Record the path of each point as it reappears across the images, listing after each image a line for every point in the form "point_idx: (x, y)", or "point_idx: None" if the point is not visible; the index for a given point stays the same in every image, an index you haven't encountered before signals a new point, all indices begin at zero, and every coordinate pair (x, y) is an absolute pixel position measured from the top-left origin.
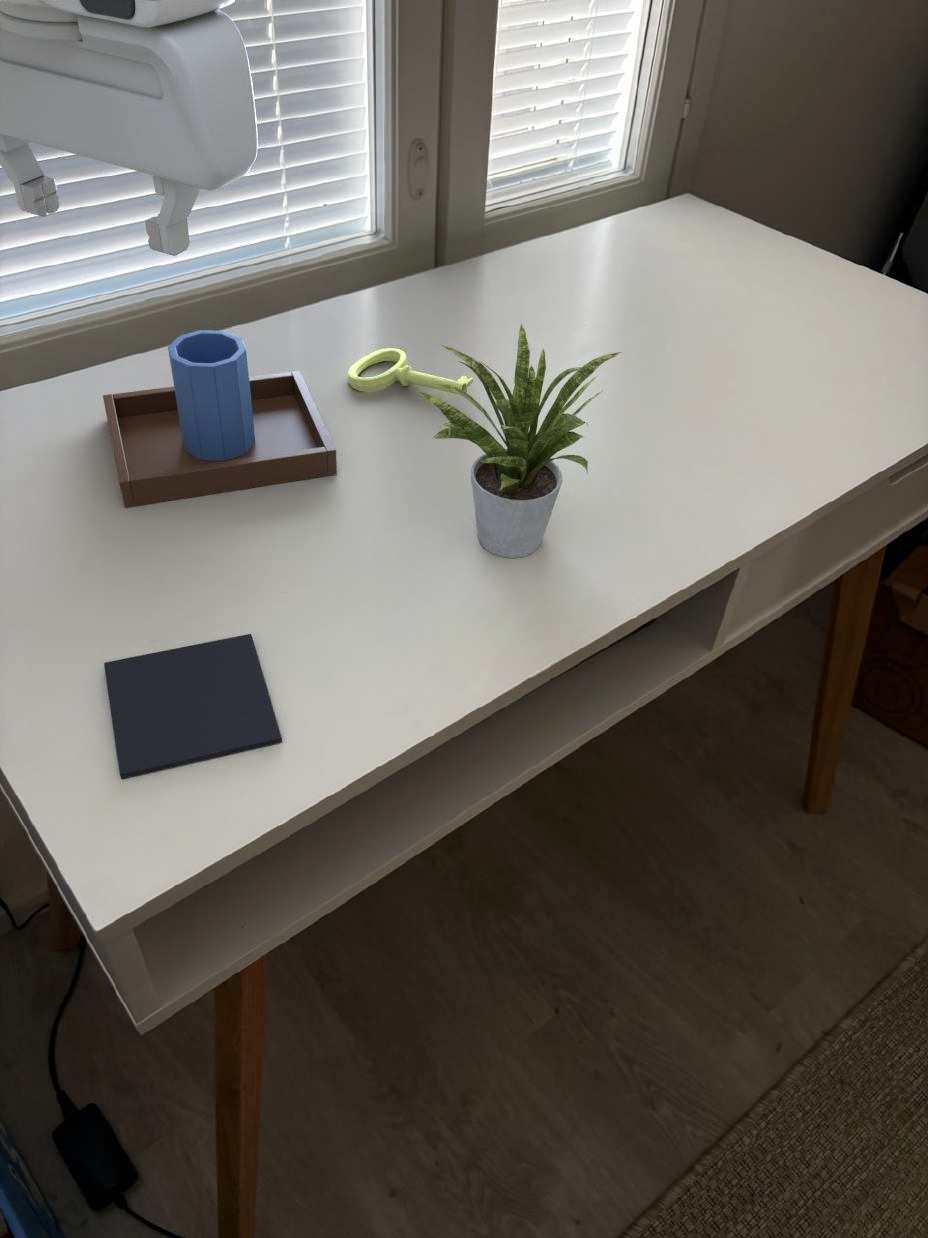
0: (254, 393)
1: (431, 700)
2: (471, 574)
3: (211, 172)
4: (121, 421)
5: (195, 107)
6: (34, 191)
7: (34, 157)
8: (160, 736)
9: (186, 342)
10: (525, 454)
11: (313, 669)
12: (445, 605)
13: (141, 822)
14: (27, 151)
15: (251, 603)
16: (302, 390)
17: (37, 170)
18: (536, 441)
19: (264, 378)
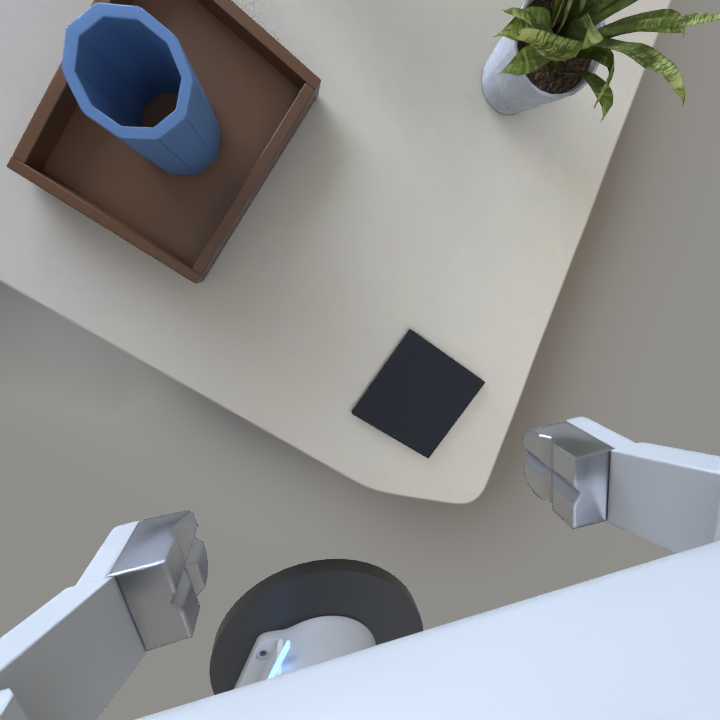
0: None
1: (539, 293)
2: (504, 154)
3: None
4: (54, 172)
5: None
6: (194, 622)
7: (49, 630)
8: (427, 428)
9: (79, 72)
10: (610, 40)
11: (462, 323)
12: (504, 204)
13: (454, 464)
14: (28, 674)
15: (384, 301)
16: None
17: (99, 604)
18: (641, 28)
19: None
